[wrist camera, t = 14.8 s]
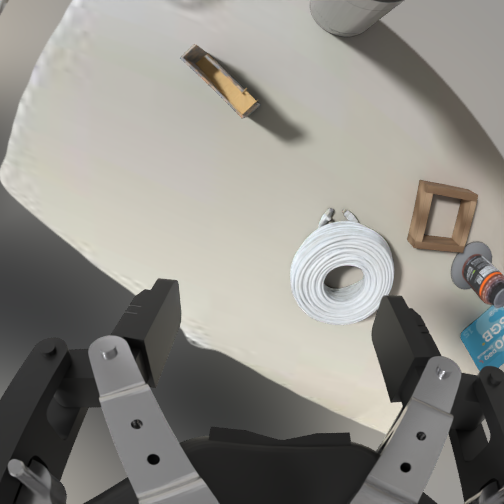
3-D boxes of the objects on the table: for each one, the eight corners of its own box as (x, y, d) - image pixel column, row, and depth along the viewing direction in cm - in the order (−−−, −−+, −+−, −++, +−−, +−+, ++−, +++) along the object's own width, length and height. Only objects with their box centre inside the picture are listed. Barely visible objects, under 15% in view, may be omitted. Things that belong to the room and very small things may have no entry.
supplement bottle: (482, 276, 49) (511, 309, 39) (459, 282, 50) (486, 317, 40) (485, 249, 47) (517, 280, 37) (461, 255, 48) (492, 288, 38)
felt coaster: (459, 239, 47) (461, 240, 47) (496, 243, 47) (497, 245, 46) (444, 286, 52) (445, 288, 51) (480, 288, 51) (481, 289, 51)
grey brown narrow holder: (263, 103, 41) (260, 101, 33) (247, 116, 42) (240, 119, 34) (209, 51, 38) (193, 37, 29) (194, 65, 39) (174, 55, 30)
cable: (332, 196, 47) (339, 209, 41) (408, 254, 50) (421, 271, 44) (269, 279, 54) (268, 299, 48) (345, 322, 57) (351, 344, 51)
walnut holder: (419, 179, 44) (428, 185, 41) (468, 189, 43) (478, 195, 40) (407, 239, 48) (413, 248, 45) (454, 244, 48) (462, 252, 45)
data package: (497, 300, 52) (523, 333, 41) (501, 310, 53) (526, 343, 43) (458, 334, 57) (479, 371, 46) (463, 343, 58) (484, 379, 47)
